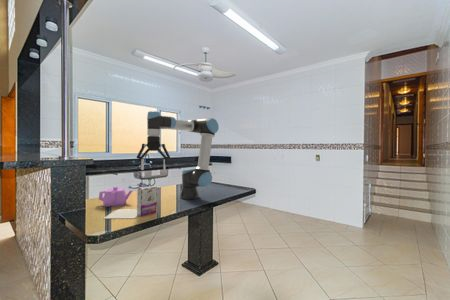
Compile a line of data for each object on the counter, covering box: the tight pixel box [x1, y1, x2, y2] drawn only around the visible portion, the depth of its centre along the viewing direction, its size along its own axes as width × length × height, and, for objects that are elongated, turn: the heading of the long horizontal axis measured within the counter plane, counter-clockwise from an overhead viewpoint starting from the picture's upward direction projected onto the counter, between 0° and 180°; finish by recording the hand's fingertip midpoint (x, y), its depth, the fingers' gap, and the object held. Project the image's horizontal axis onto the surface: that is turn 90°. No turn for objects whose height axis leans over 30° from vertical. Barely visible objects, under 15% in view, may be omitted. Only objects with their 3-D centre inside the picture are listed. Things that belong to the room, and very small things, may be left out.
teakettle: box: [98, 186, 133, 207], centre depth 161 cm, size 17×17×12 cm
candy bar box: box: [136, 185, 158, 217], centre depth 138 cm, size 11×5×16 cm, turn 143°
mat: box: [103, 208, 139, 220], centre depth 138 cm, size 18×18×1 cm
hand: (153, 169), depth 142 cm, fingers open, 13 cm apart
